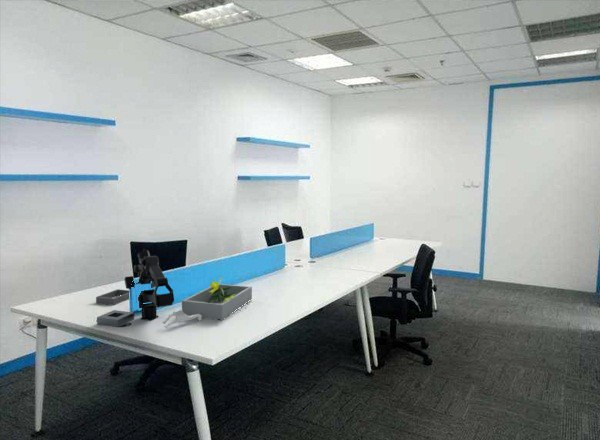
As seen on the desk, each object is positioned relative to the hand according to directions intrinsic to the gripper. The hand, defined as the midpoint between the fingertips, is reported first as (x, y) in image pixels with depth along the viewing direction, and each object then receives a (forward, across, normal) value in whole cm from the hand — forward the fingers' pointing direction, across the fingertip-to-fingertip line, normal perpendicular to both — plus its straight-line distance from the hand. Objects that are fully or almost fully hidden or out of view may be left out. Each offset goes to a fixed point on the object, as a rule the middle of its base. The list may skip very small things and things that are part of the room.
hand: (141, 289), depth 228 cm
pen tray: (+28, +8, -12) cm, 32 cm away
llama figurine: (-14, -11, +31) cm, 36 cm away
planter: (-3, -38, +20) cm, 42 cm away
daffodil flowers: (-3, -36, +18) cm, 41 cm away
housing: (0, +15, +17) cm, 23 cm away
